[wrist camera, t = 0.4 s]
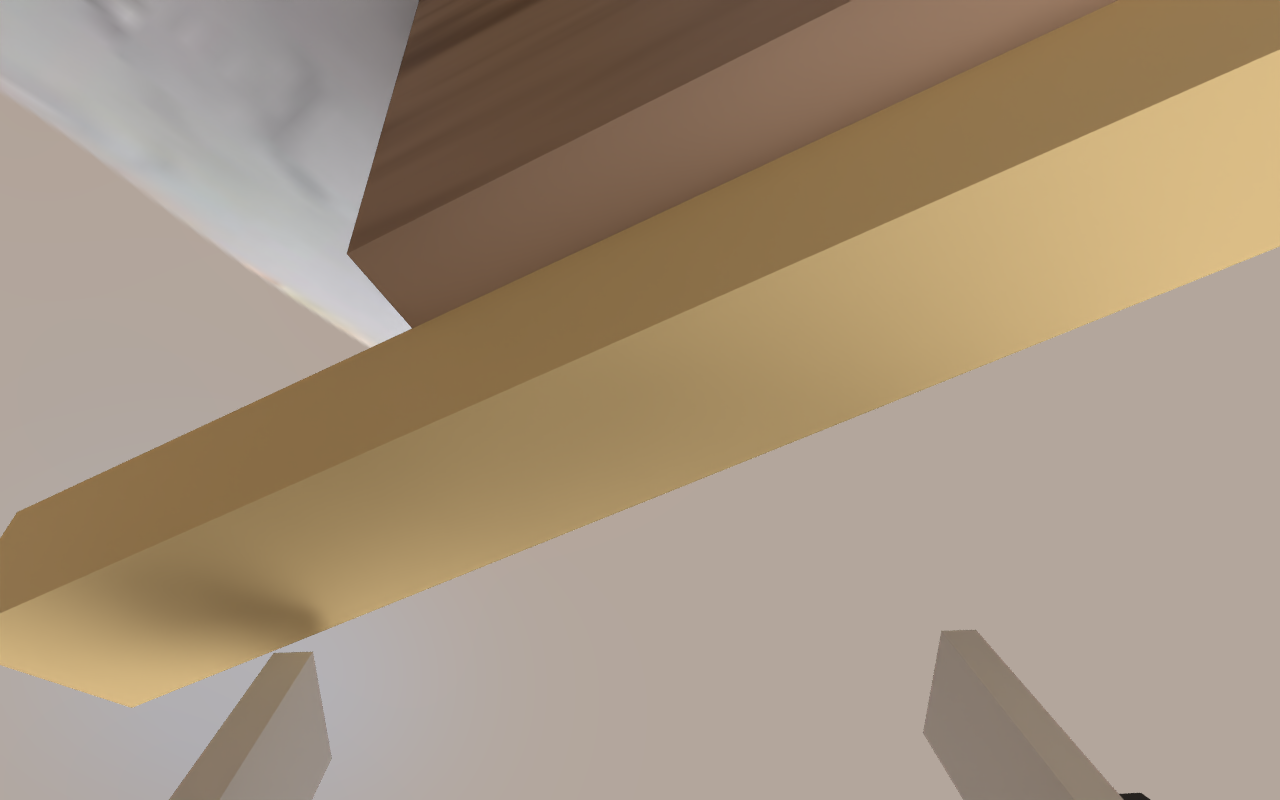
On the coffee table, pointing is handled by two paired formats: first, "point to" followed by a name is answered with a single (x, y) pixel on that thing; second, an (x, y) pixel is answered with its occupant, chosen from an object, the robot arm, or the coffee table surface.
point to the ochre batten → (672, 349)
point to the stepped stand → (627, 116)
